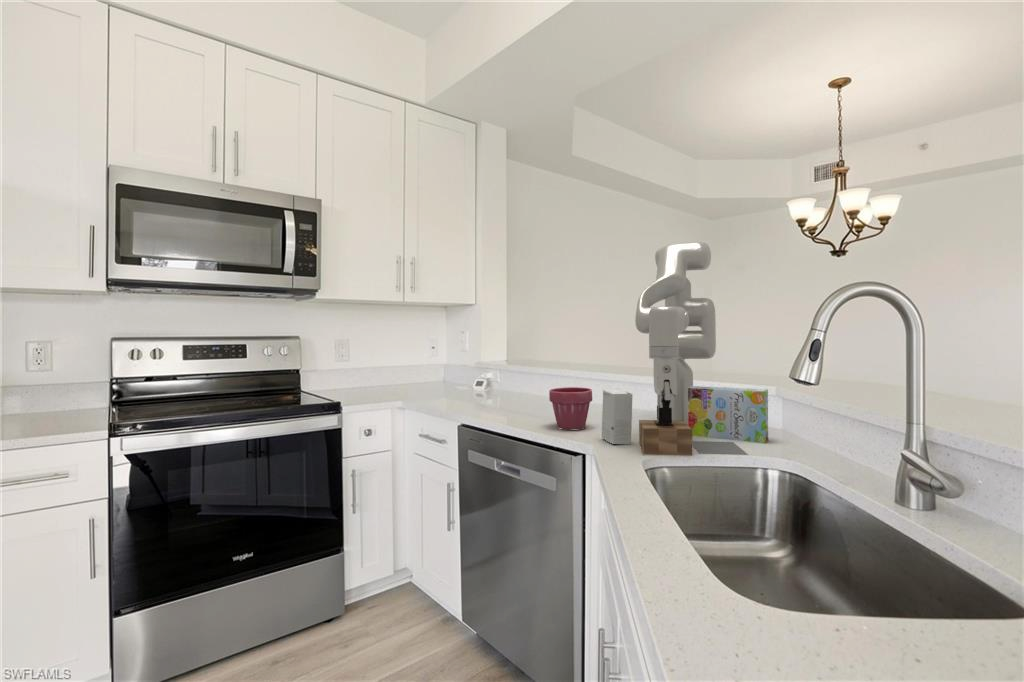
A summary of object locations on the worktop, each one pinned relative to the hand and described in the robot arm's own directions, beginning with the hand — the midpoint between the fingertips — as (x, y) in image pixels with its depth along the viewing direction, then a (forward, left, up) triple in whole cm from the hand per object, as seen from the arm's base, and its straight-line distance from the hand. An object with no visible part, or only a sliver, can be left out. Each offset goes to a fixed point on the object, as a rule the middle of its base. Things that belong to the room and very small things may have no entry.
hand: (664, 420), depth 132 cm
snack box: (-16, +20, -8) cm, 27 cm away
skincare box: (-9, -12, -8) cm, 17 cm away
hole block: (0, 0, -8) cm, 8 cm away
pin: (0, 0, -3) cm, 3 cm away
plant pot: (-28, -26, -8) cm, 39 cm away
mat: (-3, +14, -8) cm, 16 cm away
